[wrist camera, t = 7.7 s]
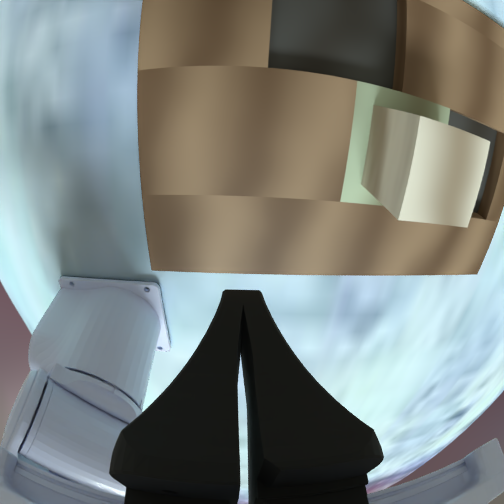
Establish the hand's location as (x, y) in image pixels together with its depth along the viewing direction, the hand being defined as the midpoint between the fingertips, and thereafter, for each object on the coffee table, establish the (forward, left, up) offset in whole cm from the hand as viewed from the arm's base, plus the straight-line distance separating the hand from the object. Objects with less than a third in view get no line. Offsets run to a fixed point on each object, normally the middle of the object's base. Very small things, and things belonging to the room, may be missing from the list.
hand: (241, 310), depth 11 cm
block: (+10, +5, -8) cm, 14 cm away
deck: (+8, +7, -9) cm, 14 cm away
